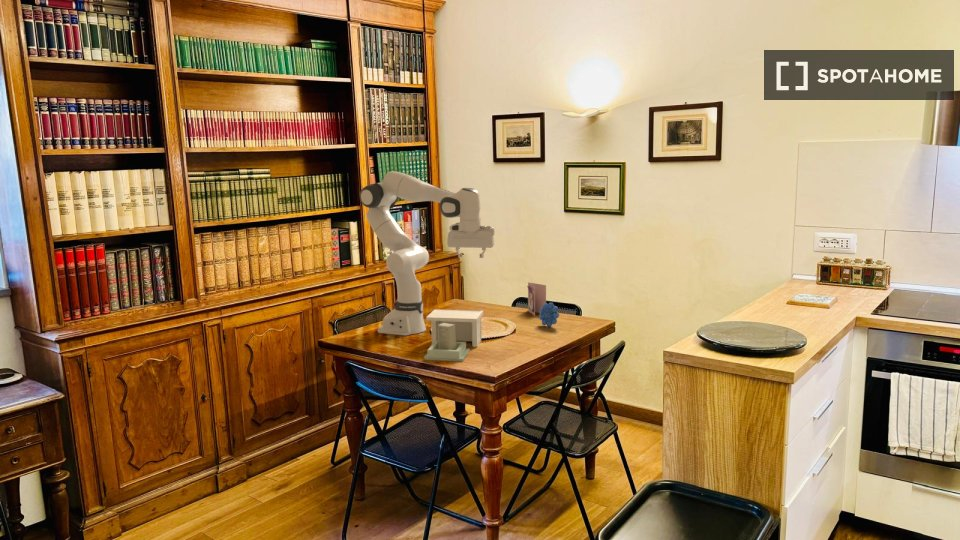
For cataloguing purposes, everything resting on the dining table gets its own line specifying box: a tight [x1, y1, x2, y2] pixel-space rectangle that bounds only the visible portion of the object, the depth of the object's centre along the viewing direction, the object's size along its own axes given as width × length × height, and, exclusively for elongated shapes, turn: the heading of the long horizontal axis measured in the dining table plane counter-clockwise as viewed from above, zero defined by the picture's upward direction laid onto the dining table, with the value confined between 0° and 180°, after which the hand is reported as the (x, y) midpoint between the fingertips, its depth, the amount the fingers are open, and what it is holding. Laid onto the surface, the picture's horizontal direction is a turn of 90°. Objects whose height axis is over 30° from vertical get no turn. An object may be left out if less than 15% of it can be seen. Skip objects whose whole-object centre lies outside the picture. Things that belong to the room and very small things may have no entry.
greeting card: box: [526, 282, 547, 317], centre depth 349 cm, size 11×7×15 cm, turn 13°
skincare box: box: [438, 323, 457, 350], centre depth 282 cm, size 6×4×12 cm
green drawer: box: [423, 341, 470, 362], centre depth 283 cm, size 16×14×4 cm
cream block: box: [425, 308, 484, 348], centre depth 298 cm, size 22×14×14 cm, turn 79°
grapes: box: [538, 302, 560, 328], centre depth 324 cm, size 12×7×12 cm, turn 47°
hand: (470, 257), depth 298 cm, fingers open, 8 cm apart
